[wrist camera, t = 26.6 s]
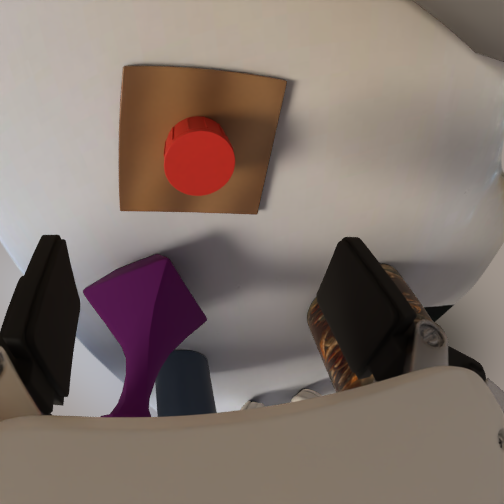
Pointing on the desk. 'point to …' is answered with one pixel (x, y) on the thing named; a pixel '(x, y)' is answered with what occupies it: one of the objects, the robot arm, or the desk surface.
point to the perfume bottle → (144, 323)
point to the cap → (198, 156)
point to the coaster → (190, 105)
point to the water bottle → (184, 385)
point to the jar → (330, 348)
